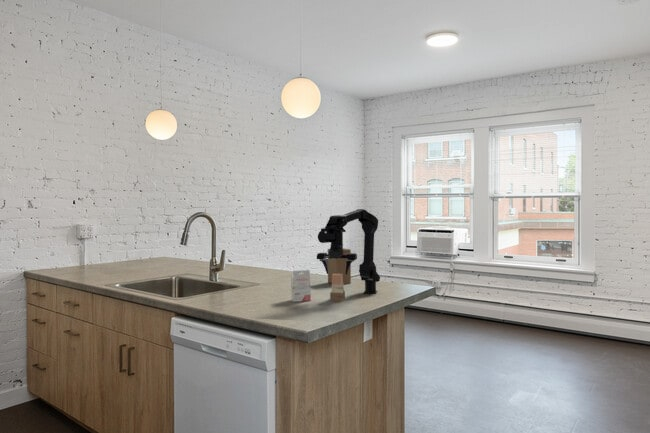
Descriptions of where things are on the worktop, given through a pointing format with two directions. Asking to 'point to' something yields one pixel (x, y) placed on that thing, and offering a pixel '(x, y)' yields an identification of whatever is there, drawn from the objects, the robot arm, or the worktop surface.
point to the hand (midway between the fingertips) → (336, 274)
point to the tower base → (337, 296)
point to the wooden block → (339, 267)
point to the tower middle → (338, 288)
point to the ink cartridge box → (300, 286)
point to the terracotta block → (337, 279)
